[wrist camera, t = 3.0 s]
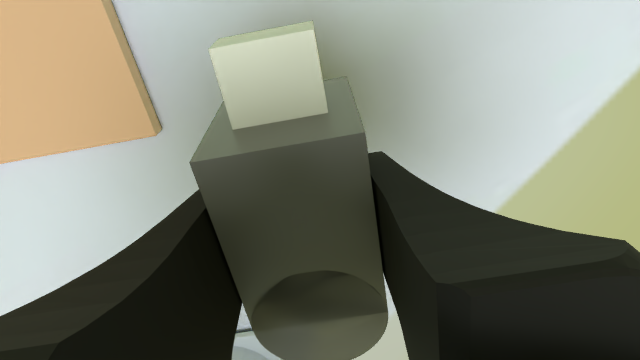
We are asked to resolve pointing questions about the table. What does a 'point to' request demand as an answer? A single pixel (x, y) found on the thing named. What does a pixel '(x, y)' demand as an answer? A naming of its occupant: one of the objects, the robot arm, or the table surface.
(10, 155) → the coaster
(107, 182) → the table surface
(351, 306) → the usb plug
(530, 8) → the table surface
